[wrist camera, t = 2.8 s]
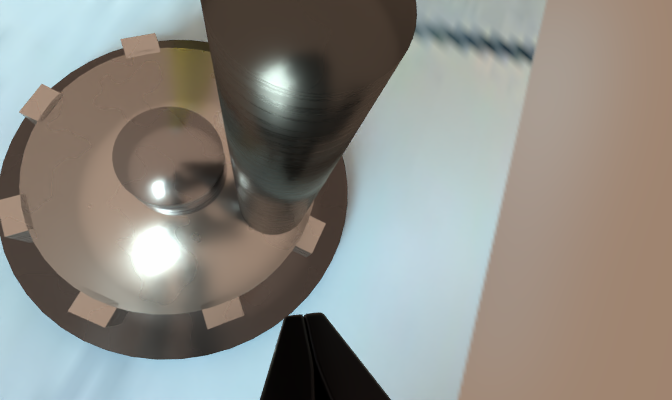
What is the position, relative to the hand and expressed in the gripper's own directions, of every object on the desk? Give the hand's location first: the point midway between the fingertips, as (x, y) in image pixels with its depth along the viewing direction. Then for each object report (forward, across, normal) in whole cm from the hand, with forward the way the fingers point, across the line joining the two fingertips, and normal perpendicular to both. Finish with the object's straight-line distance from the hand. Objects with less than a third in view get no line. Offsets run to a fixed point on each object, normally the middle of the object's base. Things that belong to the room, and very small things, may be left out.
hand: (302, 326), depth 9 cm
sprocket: (+8, +3, +1) cm, 9 cm away
